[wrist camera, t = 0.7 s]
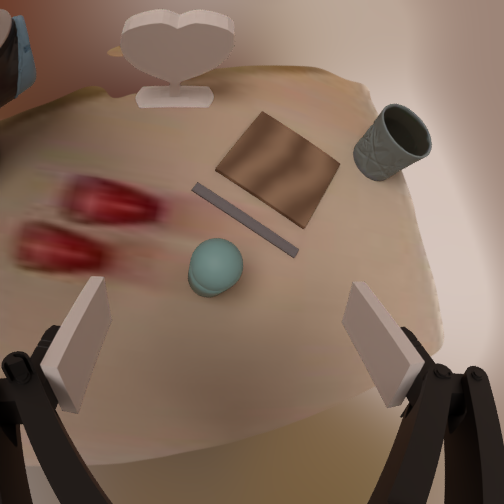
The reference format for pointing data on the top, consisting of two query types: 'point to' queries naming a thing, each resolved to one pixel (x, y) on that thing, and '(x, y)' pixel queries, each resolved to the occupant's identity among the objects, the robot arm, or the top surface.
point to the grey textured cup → (392, 143)
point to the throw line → (245, 219)
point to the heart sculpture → (176, 53)
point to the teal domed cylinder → (214, 267)
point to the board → (279, 168)
